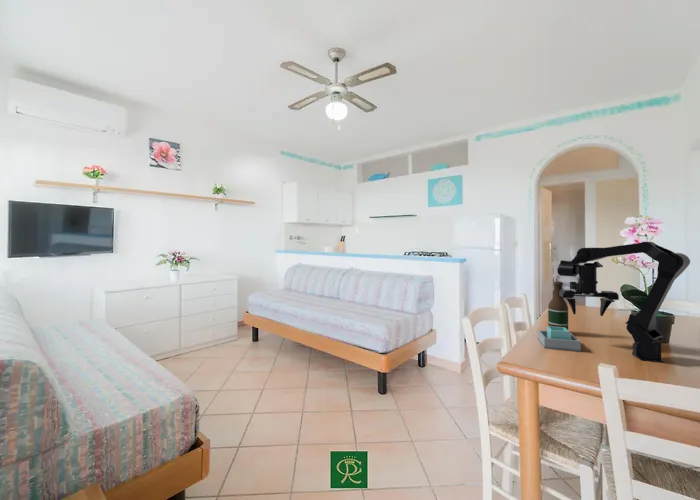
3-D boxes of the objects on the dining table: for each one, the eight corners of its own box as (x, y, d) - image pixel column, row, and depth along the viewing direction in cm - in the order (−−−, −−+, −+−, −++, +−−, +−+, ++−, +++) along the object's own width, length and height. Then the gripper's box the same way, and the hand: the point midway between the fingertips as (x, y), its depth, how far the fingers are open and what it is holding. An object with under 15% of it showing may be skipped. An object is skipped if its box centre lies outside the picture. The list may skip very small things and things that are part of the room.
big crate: (570, 342, 126) (570, 332, 126) (580, 351, 115) (580, 341, 115) (537, 339, 131) (537, 330, 131) (544, 348, 120) (544, 338, 119)
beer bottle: (544, 331, 142) (544, 281, 142) (556, 329, 145) (556, 280, 144) (560, 336, 135) (559, 283, 134) (572, 334, 137) (572, 282, 137)
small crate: (564, 341, 125) (564, 327, 125) (569, 346, 119) (569, 331, 119) (546, 340, 127) (546, 326, 127) (550, 344, 121) (550, 330, 121)
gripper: (607, 276, 128) (606, 312, 128) (555, 275, 135) (555, 309, 135) (619, 279, 117) (619, 318, 118) (563, 277, 124) (563, 315, 124)
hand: (587, 315), depth 124 cm, fingers open, 9 cm apart
